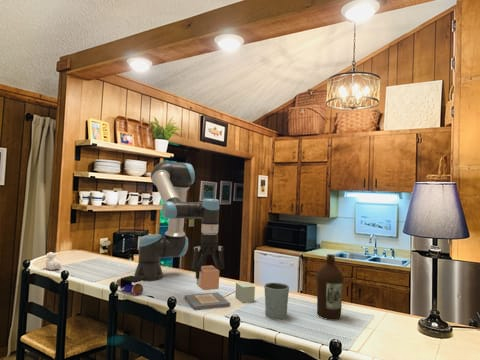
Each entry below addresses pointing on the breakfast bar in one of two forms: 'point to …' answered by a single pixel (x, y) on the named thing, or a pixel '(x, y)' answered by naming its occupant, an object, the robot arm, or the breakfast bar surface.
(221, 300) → the slate board
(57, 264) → the duck figurine
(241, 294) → the sage brick
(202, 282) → the terracotta brick
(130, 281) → the figurine character
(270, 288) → the grey cup
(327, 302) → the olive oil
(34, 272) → the breakfast bar surface
